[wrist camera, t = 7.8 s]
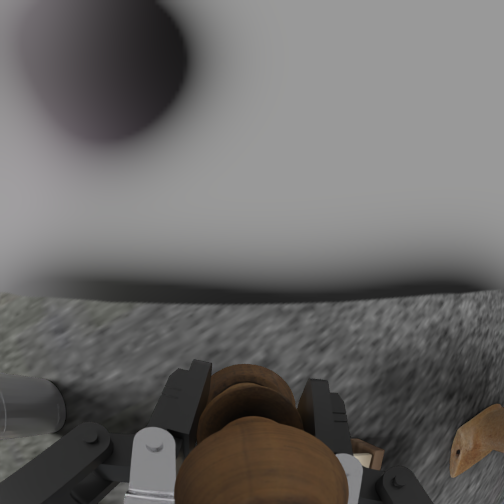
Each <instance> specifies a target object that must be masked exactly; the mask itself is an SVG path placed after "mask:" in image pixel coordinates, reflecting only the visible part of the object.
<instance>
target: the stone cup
mask: <svg viewBox="0 0 504 504" xmlns="http://www.w3.org/2000/svg"><path fill="white" fill-rule="evenodd" d="M492 450H496V451H499V452H502V453H504V407H503V408H502V407H501V405H500V404H494V405H492V406H490V407H488V408H486V409H485V410H483V411H482V412H481V413H479V414H478V415H476V416H475V417H474V418H472V419H471V420H470V421H468V422H467V423H465V424H464V425H462V426H461V427H460V428H459V429H458V430H457V432H456V435H455V438H454V441H453V444H452V449H451V456H450V475H451V477H452V478H454V477H456V476H458V475H459V474H461V473H463V472H464V471H466V470H467V469H469V468H470V467H472V466H473V465H474V464H475V463H477V462H478V461H480V460H481V459H482V458H484V457H485V456H486V455H487V454H489V453H490V452H491V451H492Z"/></svg>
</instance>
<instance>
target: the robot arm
mask: <svg viewBox="0 0 504 504" xmlns="http://www.w3.org/2000/svg"><path fill="white" fill-rule="evenodd" d="M211 371H212V363H210V362H205V361H201V360H196V359H194V360H193V362H192V364H191V367H190V369H189V371H188V370H183V369H179V368H178V369H177V370H176V371H175V372H174V373H172V374H171V375H170V376H169V378H168V381H167V383H166V385H165V387H164V389H163V392H162V395H161V396H160V398H159V401H158V403H157V405H156V407H155V410H154V412H153V414H152V416H151V419H150V421H149V423H148V425H147V426H146V427H145V428H144V429H142V430H140V431H139V432H137V433H134V434H117V433H108V431H107V429H106V428H105V427H103V426H102V425H100V424H98V423H95V422H84V423H81V424H79V425H78V426H76V427H75V428H74V429H73V430H71V431H70V432H69V433H67V434H66V435H65V436H63V437H62V438H61V439H59V440H58V441H57V442H55V443H54V444H53V445H51V446H50V447H49V448H47V449H46V450H45V451H43V452H42V453H41V454H39V455H38V456H37V457H35V458H34V459H33V460H31V461H30V462H29V463H27V464H26V465H24V466H23V467H22V468H20V469H19V470H18V471H16V472H15V473H13V474H12V475H11V476H9V477H8V478H6V479H5V480H4V481H2V482H1V483H0V504H97V503H98V502H99V501H101V500H102V499H103V498H104V497H105V496H106V495H107V494H108V493H109V492H110V491H111V490H112V489H113V488H114V487H116V486H117V485H118V484H119V483H120V482H127V483H129V490H128V491H127V492H126V494H125V497H124V504H175V501H174V487H175V481H176V477H177V474H178V472H179V469H180V467H181V465H182V463H183V462H184V460H185V458H186V457H187V456H188V454H189V453H190V452H191V451H192V450H193V449H194V447H195V443H196V440H197V436H196V434H197V428H198V423H199V419H200V416H201V414H202V412H203V411H204V409H205V408H206V404H207V401H208V397H209V391H210V382H211ZM297 410H298V412H299V414H300V417H301V419H302V423H303V428H304V431H305V432H307V433H309V434H311V435H313V436H314V437H316V438H317V439H319V440H320V441H322V442H323V443H324V444H325V445H326V446H327V447H329V448H330V449H331V450H332V452H333V453H334V454H335V455H336V457H337V458H338V459H339V461H340V463H341V464H342V466H343V468H344V471H345V473H346V476H347V480H348V487H349V498H348V504H433V502H432V501H431V499H430V498H429V496H428V495H427V493H426V492H425V490H424V489H423V487H422V486H421V484H420V483H419V481H418V480H417V478H416V477H415V475H414V474H413V473H412V471H411V470H409V469H408V468H406V467H402V466H395V467H392V468H390V469H388V470H387V471H386V472H384V471H379V470H374V469H370V468H367V467H364V466H363V465H362V464H361V463H360V461H359V460H358V459H357V458H356V457H354V455H353V451H352V445H351V439H350V433H349V427H348V423H347V416H346V410H345V405H344V402H343V400H342V399H341V397H340V396H339V394H338V393H330V391H329V384H328V381H327V380H322V379H312V378H309V379H308V381H307V383H306V386H305V388H304V391H303V393H302V396H301V398H300V401H299V404H298V408H297ZM65 418H66V409H65V403H64V400H63V398H62V395H61V393H60V392H59V390H58V389H57V387H56V386H55V385H54V384H53V383H51V382H50V381H48V380H47V379H43V378H36V377H28V376H21V375H14V374H7V373H1V372H0V440H3V439H12V438H21V437H29V436H36V435H42V434H48V433H54V432H57V431H59V430H60V429H61V428H62V427H63V425H64V422H65Z"/></svg>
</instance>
